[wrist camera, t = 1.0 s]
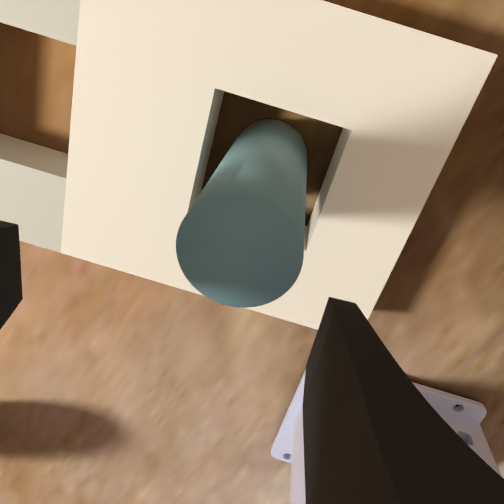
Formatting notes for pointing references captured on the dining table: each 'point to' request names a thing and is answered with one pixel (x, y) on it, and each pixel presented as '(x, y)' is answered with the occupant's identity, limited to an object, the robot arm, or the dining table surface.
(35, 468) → the dining table surface
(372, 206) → the peg board
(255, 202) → the peg
